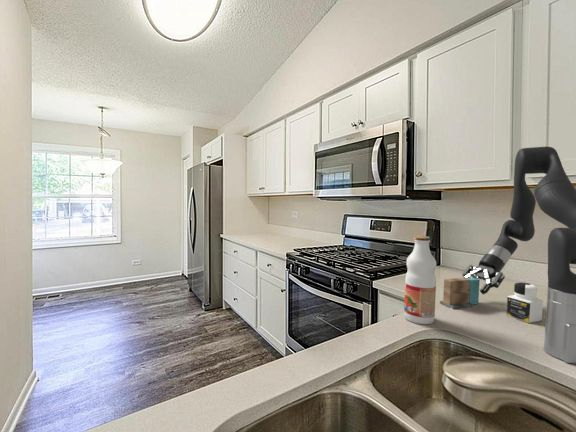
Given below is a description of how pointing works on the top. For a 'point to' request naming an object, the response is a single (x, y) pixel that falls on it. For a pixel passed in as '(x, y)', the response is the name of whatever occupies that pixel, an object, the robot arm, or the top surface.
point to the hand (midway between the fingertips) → (471, 289)
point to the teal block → (474, 290)
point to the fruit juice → (420, 283)
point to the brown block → (456, 293)
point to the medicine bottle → (525, 303)
